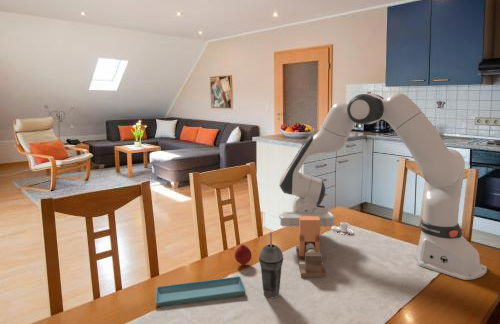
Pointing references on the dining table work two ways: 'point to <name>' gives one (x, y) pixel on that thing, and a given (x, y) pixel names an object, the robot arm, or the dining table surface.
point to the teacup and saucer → (343, 228)
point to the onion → (243, 254)
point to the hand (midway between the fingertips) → (309, 226)
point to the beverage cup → (271, 268)
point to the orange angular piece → (309, 232)
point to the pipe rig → (310, 262)
